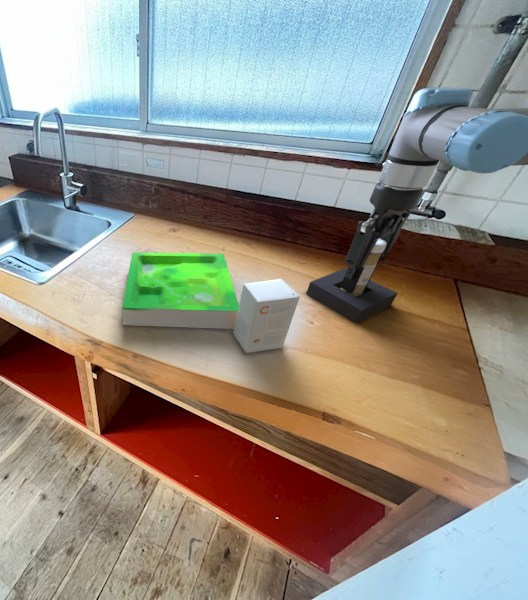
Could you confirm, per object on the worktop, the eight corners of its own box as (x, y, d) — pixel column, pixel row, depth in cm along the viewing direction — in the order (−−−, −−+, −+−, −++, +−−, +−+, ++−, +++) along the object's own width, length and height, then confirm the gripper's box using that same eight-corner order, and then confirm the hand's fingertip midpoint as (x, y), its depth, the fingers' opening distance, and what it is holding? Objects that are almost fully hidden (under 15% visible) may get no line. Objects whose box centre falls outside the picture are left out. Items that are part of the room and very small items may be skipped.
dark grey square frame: (391, 305, 75) (398, 293, 73) (355, 323, 70) (362, 310, 68) (339, 279, 84) (344, 267, 82) (305, 293, 80) (310, 281, 77)
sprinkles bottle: (354, 286, 78) (378, 235, 70) (366, 297, 74) (392, 244, 66) (335, 287, 78) (357, 236, 70) (346, 298, 74) (370, 245, 66)
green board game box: (221, 269, 90) (223, 253, 87) (236, 329, 70) (240, 311, 67) (132, 267, 92) (132, 252, 90) (123, 325, 73) (122, 307, 70)
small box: (267, 328, 70) (282, 277, 62) (283, 348, 65) (301, 296, 57) (232, 333, 69) (242, 282, 61) (245, 354, 64) (258, 302, 56)
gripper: (405, 173, 67) (361, 269, 80) (351, 187, 61) (313, 289, 74) (448, 182, 61) (392, 283, 75) (393, 199, 55) (344, 306, 69)
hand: (353, 286), depth 75 cm, fingers closed on sprinkles bottle, 4 cm apart
